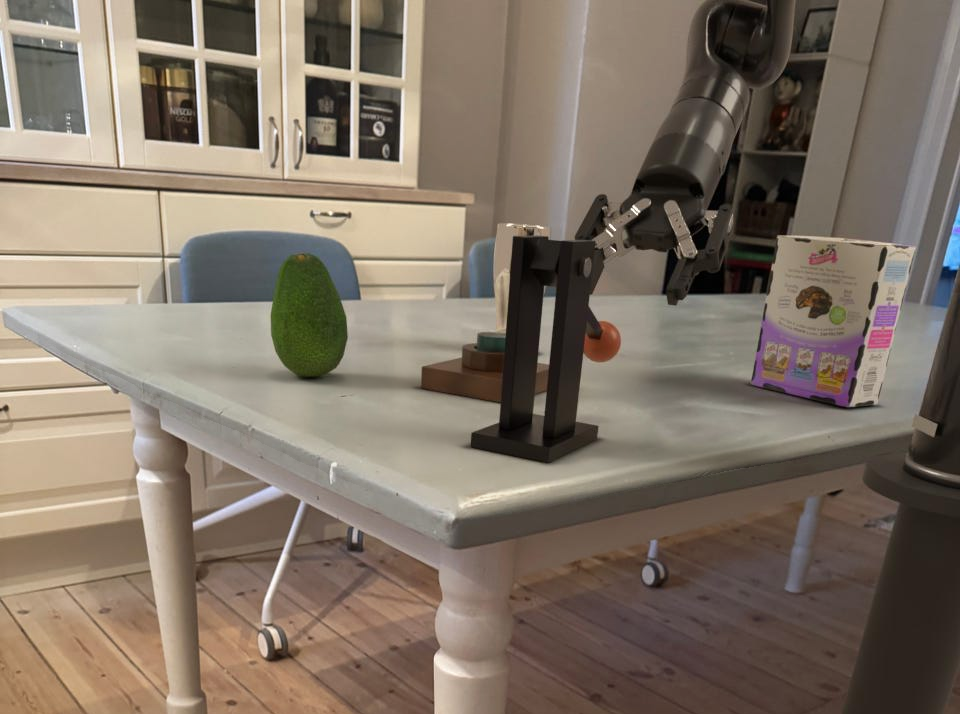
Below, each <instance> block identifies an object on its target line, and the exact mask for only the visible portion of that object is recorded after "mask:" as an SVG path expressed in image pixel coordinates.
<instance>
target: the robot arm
mask: <svg viewBox="0 0 960 714" xmlns="http://www.w3.org/2000/svg"><path fill="white" fill-rule="evenodd" d="M796 1H797V0H766V5H765V4H761V3H759V2H754V1H752V0H703V1H702V3H701V4H699V6H698V7H697V9H696V10H695V12H694V14H693V16H692V19H691V21H690V24H689V28H688V34H687V35H688V36H687V41H686V50H685V51H686V52H685V67H684V74H683V79H682V81H681V85H680V88H679V90H678V91H677V93H676V96H675V99H674V100H673V103H672V104H671V107H670V109H669V112H668V114H667V116H666V117H665V118H664V120H662V121H663V122H662V123H661V124H660V126H659V128H658V130H657V132H656V134H655V136H654V139H653V141H652V142H651V145H650V147H649V149H648V151H647V153H646V156H645V158H644V160H643V162H642V165H641V166H640V169H639V171H638V173H637V176H636V177H635V179H634V183H633V186H632V189H631V192H630V194H629V195H628V197H627V198H625V199H624V200H623V201H622V202H621V203H619V202H612V201H609V200H608V196H607V194H605V193H599V194H598V195H596V196H595V197H594V200H593V202H592V204H591V205H590V207H589V209H588V211H587V213H586V215H585V216H584V218H583V220H582V222H581V224H580V225H579V227H578V229H577V231H576V233H575V235H574V240H591V241H596V243H595V252H594V261H593V270H592V279H591V288H590V296H592V295H593V293H594V291H595V289H596V287H597V285H598V283H599V280H600V278H601V276H602V274H603V272H604V269H605V264H606V263H609V262H610V261H611V260H613V259H614V258H616V257H620V258H622V257H624V256H625V255H627V254H628V253H629V252H631V251H633V250H634V249H635V250H637V251H648V250H649V251H650V250H653V251H656V252H659V253H666V254H667V252H668V251H669V250H670V251H671V250H674V252H675V254H676V257H677V259H678V260H677V263H676V265H675V267H674V269H673V272H672V275H671V276H670V279H669V281H668V284H667V286H666V288H665V289H666V290H665V295H666V302H667V305H669V306H677V305H678V303H679V301H683V300H684V299H685V298H686V297H687V296H688V293H689V291H690V288H691V286H692V284H693V281H694V280H695V277H696V276H697V275H699V274H700V272H705V271H707V272H708V273H710V274H716V273H718V272H719V271H720V270H721V267H722V264H723V261H724V258H725V255H726V252H727V250H728V246H729V243H730V241H731V237H732V234H733V231H734V227H735V226H734V213H733V212H734V211H733V205H732V204H731V203H723V204H721V205H720V206H719V207H718V209H717V210H713V209H711V210H710V209H709V210H708V208H709V205H710V204H711V201H712V199H713V197H714V194H715V191H716V189H717V187H718V185H719V182H720V180H721V178H722V176H723V175H724V173H725V172H726V168H727V164H728V161H729V158H730V155H731V151H732V147H733V142H734V141H735V138H736V136H737V133H738V131H739V129H740V126H741V125H742V123H743V120H744V117H745V116H746V112H747V110H748V107H749V103H750V97H751V96H750V89H751V90H764V89H766V88H768V87H770V86H772V84H774V83H775V82H776V81H777V80H778V79H779V78H780V77H781V75H782V73H783V72H784V70H785V68H786V66H787V64H788V61H789V58H790V55H791V49H792V42H793V36H794V23H795V12H796V10H795V9H796V3H797V2H796ZM705 226H707V227H708V233H709V236H708V239H707V242H706V245H705V247H704V248H702V249H697V248H696V245H695V242H694V241H693V239H692V237H693V236H694V235H695V234H697V233H698V232H700V231H701V230H702V229H703V228H704V227H705ZM623 231H625V234H626V238H625V239H623ZM606 246H607V247H606ZM604 247H605V248H604ZM911 427H912V428H914V430H913V434H912V437H911V440H910V442H909V445H908V452H906V453H907V455H906V458H905V462H904V465H903V468H904V470H905V471H906V472H908V473H909V474H911V475H913V476H915V477H917V478H919V479H922V480H925V481H928V482H931V483H934V484H938V485H942V486H946V487H951V488H955V489H960V263H959V265H958V268H957V272H956V276H955V280H954V283H953V285H952V290H951V294H950V297H949V301H948V305H947V308H946V312H945V315H944V320H943V323H942V327H941V331H940V333H939V337H938V342H937V346H936V349H935V352H934V356H933V360H932V364H931V367H930V371H929V374H928V378H927V381H926V385H925V389H924V393H923V397H922V400H921V404H920V408H919V412H918V414H917V413H914V415H913V420H912V422H911Z"/></svg>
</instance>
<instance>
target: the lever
mask: <svg viewBox="0 0 960 714" xmlns="http://www.w3.org/2000/svg"><path fill="white" fill-rule="evenodd" d="M561 241H562V240H557V239H551V240H546V239H538V242H537V245H536V248H535V252H534V255H533V258H532V261H531V264H530V269H531V271H532V272H533V274H534V275H535V277H536V278H537V280H538V281H539V283H540V284H541V285H543V286H546V287H552V288H556V287H557V277H558V266H559V255H560V245H561ZM621 345H622V337H621V334H620V331H619V329H618V328H617V327H616V326H615V324H613V323H612V322H609V321H606V320H598V319H597V317H596V315H595V314H594V312H593V311H592V309H591V307H590V305H589V306H588V315H587V324H586V334H585V343H584V352H583V355H585V357H586V358H587V359H588V360H590V361H591V362H595V363H600V364H601V363H606V362H609V361H611V360H612V359H614V358H615V357H616V355H617V354H618V353H619V350H620V349H621Z"/></svg>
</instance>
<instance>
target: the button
mask: <svg viewBox="0 0 960 714" xmlns="http://www.w3.org/2000/svg"><path fill="white" fill-rule="evenodd" d="M505 337H506V334H505V333H497V332H495V331H481V332H478V333H477V335H476V343H477V349H478V350H483V351H491V352H504V351H505Z"/></svg>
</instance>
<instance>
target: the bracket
mask: <svg viewBox="0 0 960 714" xmlns="http://www.w3.org/2000/svg"><path fill="white" fill-rule="evenodd" d="M538 239H546V240H548V239H549V237H548V236H539V235H537V236H513V242H512V255H511V269H510V283H509V296H508V310H507V323H506V337H505V351H504V364H503V378H502V392H501V403H500V406H499V407H500V409H499V419H498V422H497V423H494V424H491V425H487V426H486V427H482V428H480V429H477V430H474V431H472V432H471V434H470V447H471V448H474V449H479V450H484V451H488V452H492V453H499V454H504V455H508V456H511V457H518V458H523V459H527V460H531V461H537V462H541V463H542V462H543V463H546V464H547V463H548V464H549V463H551V462H553V461H556V460H557V459H559V458H562V457H564V456H566V455H568V454H569V453H572V452H574V451H576V450H578V449H580V448H582V447H584V446H586V445H588V444H590V443H592V442H595V441H596V440H598V436H599V426H600V425H599V424H598V425H597V424H591V423H586V422H581V421H577V416H578V415H577V413H578V406H579V397H580V387H581V377H582V369H583V360H584V343H585V334H586V324H587V315H588V306H589V307H590V296H591V295H590V288H591V279H592V270H593V261H594V252H595V243H596V241H591V240H575V239H570V240H569V239H568V240H567V239H566V240H565V239H564V240H560V241H561V245H560V255H559V266H558V277H557V287H555V299H554V310H553V319H552V332H551V339H550V340H551V341H550V352H549V361H548V362H549V363H548V364H549V372H548V382H547V390H546V394H545V404H544V406H545V407H544V414H538V413H537V414H536V413H534V408H535V395H536V394H535V385H536V374H537V363H539V362H538V360H539V350H540V340H541V339H540V337H541V327H542V316H543V305H544V296H545V292H544V286H543V285H541V284H540V283H539V281H538V280H537V278H536V277H535V275H534V274H533V272H532V271H531V269H530V264H531V261H532V258H533V255H534V252H535V248H536V245H537V242H538ZM543 295H544V296H543Z"/></svg>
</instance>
